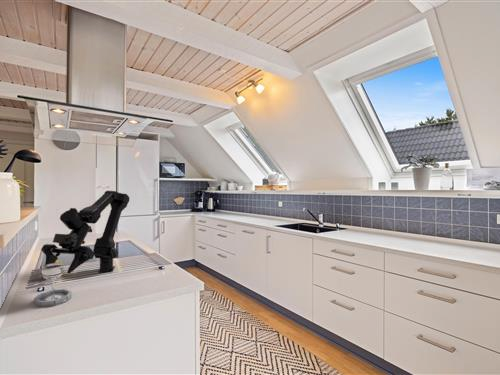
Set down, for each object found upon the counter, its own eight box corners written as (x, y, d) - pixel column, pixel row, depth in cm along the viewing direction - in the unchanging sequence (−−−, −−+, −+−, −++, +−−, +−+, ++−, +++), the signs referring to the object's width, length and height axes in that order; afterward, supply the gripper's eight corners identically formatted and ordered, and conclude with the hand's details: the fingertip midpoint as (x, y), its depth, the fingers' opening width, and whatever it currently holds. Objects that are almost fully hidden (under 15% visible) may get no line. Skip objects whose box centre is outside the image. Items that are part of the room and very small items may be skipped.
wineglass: (44, 295, 105) (44, 263, 105) (66, 292, 108) (65, 261, 107) (39, 303, 99) (38, 269, 99) (62, 300, 102) (61, 267, 101)
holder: (42, 295, 107) (42, 290, 107) (75, 292, 110) (75, 287, 110) (28, 308, 97) (28, 303, 97) (65, 305, 100) (65, 300, 100)
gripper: (44, 223, 110) (19, 260, 100) (89, 225, 108) (68, 263, 98) (60, 238, 118) (38, 274, 108) (102, 241, 116) (84, 277, 106)
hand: (56, 272), depth 105 cm, fingers open, 9 cm apart
